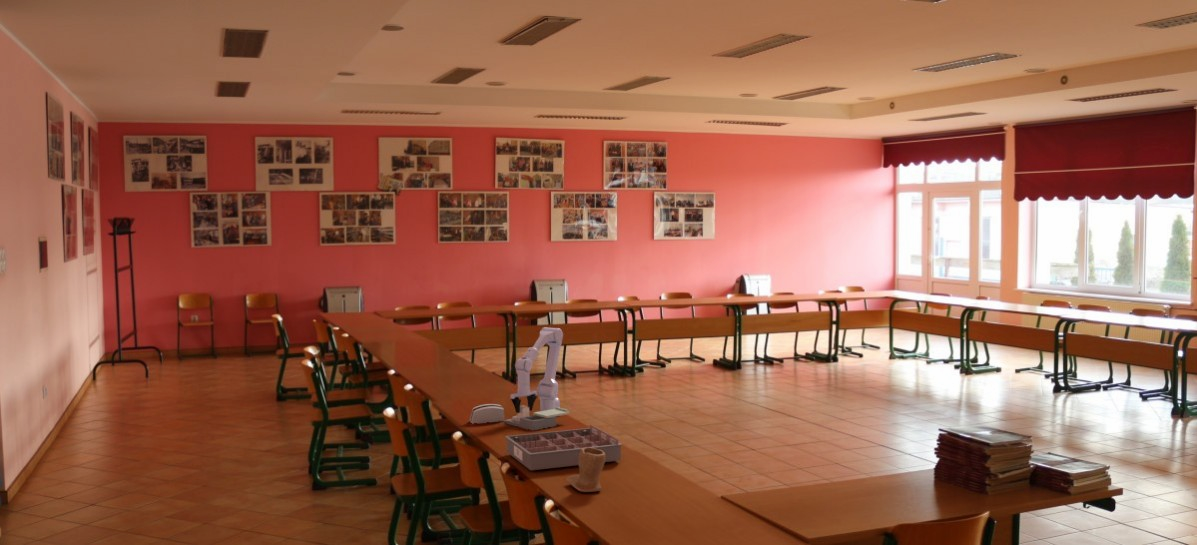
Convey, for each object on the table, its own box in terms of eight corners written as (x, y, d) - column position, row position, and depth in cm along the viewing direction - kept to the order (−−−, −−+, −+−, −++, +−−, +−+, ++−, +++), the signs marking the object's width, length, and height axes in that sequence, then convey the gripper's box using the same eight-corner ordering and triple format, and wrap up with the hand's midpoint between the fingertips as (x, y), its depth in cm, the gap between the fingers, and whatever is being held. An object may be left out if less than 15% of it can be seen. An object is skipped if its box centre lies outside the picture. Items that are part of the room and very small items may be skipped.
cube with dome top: (524, 418, 456) (524, 404, 456) (529, 419, 453) (529, 405, 453) (517, 419, 454) (517, 405, 453) (522, 421, 451) (522, 406, 450)
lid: (555, 410, 459) (555, 406, 459) (569, 413, 451) (569, 410, 451) (533, 414, 449) (533, 410, 449) (546, 418, 442) (546, 414, 442)
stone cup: (609, 492, 341) (609, 451, 340) (578, 495, 337) (578, 454, 336) (596, 481, 355) (596, 442, 354) (566, 484, 351) (566, 444, 350)
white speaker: (501, 418, 462) (503, 401, 458) (504, 424, 458) (506, 406, 454) (468, 421, 456) (470, 403, 452) (470, 427, 452) (472, 409, 448)
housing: (527, 418, 462) (527, 409, 462) (556, 426, 446) (556, 416, 446) (504, 423, 453) (504, 413, 453) (533, 430, 437) (533, 421, 436)
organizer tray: (504, 455, 394) (504, 431, 393) (592, 445, 410) (592, 423, 409) (529, 474, 365) (529, 449, 364) (623, 463, 380) (623, 439, 380)
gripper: (530, 380, 460) (530, 408, 461) (506, 384, 450) (506, 412, 451) (539, 382, 455) (539, 410, 456) (515, 386, 445) (515, 414, 446)
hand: (524, 411), depth 453 cm, fingers open, 7 cm apart
